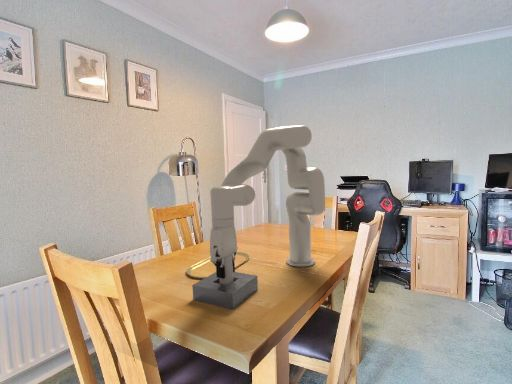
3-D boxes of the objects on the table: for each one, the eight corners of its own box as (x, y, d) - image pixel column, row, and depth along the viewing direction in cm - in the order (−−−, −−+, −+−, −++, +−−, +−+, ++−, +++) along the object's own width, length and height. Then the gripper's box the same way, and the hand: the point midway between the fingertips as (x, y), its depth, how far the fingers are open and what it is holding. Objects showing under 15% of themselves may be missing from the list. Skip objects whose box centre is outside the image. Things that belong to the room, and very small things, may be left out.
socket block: (221, 282, 110) (220, 269, 110) (257, 289, 103) (257, 275, 102) (193, 299, 96) (192, 285, 96) (233, 309, 89) (232, 293, 88)
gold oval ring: (177, 276, 119) (177, 273, 119) (224, 253, 150) (224, 250, 150) (214, 283, 110) (214, 279, 110) (256, 256, 141) (256, 253, 141)
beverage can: (234, 284, 102) (232, 251, 101) (233, 290, 97) (231, 255, 96) (220, 285, 102) (218, 252, 101) (219, 291, 97) (217, 256, 96)
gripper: (228, 217, 107) (230, 265, 108) (198, 227, 92) (201, 282, 94) (245, 218, 103) (247, 268, 105) (217, 228, 88) (220, 286, 90)
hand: (225, 274), depth 99 cm, fingers open, 5 cm apart
